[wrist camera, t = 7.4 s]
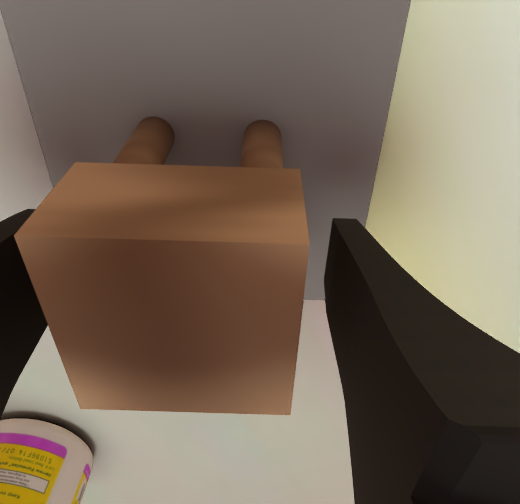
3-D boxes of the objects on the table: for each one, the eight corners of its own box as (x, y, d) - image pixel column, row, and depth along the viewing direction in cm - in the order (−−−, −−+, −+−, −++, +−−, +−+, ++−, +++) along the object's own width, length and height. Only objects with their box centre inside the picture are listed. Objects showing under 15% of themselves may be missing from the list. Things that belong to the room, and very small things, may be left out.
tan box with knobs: (292, 110, 13) (309, 244, 8) (283, 248, 16) (290, 415, 11) (122, 105, 13) (14, 235, 8) (145, 244, 16) (80, 408, 11)
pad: (408, -11, 12) (412, -9, 11) (348, 294, 18) (350, 300, 18) (-1, -22, 12) (-9, -21, 11) (87, 286, 18) (84, 292, 18)
